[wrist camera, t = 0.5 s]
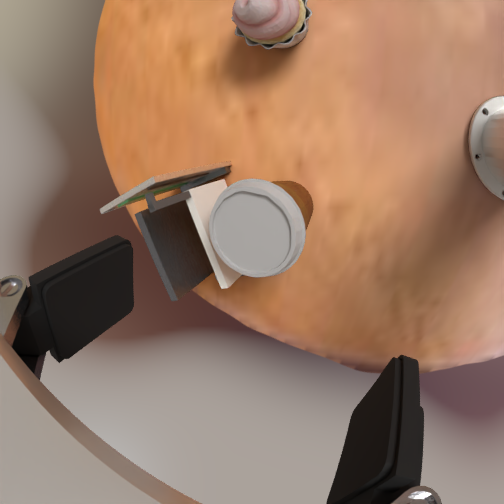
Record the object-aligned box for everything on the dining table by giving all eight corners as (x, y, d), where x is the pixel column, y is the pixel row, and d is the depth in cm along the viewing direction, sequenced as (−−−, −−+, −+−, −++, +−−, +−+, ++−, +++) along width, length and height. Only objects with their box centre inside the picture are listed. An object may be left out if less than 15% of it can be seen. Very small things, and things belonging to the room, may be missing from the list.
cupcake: (272, -10, 26) (238, -45, 18) (334, 16, 25) (316, -22, 17) (235, 41, 31) (192, 19, 22) (294, 72, 30) (263, 50, 22)
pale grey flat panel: (221, 172, 38) (149, 192, 26) (255, 261, 41) (200, 314, 29) (215, 175, 39) (143, 195, 27) (249, 263, 41) (193, 314, 29)
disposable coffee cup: (342, 204, 34) (324, 234, 24) (293, 255, 39) (258, 300, 29) (282, 152, 34) (239, 158, 24) (240, 207, 39) (189, 234, 29)
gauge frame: (230, 160, 38) (153, 176, 25) (269, 267, 41) (215, 327, 28) (176, 185, 42) (98, 209, 30) (214, 278, 46) (152, 330, 33)
